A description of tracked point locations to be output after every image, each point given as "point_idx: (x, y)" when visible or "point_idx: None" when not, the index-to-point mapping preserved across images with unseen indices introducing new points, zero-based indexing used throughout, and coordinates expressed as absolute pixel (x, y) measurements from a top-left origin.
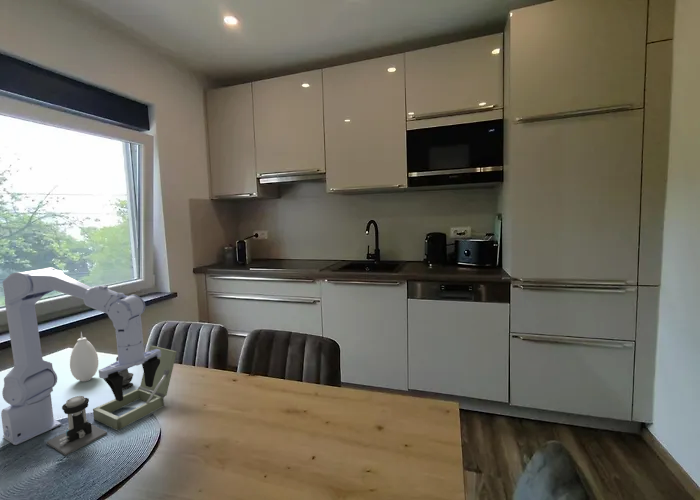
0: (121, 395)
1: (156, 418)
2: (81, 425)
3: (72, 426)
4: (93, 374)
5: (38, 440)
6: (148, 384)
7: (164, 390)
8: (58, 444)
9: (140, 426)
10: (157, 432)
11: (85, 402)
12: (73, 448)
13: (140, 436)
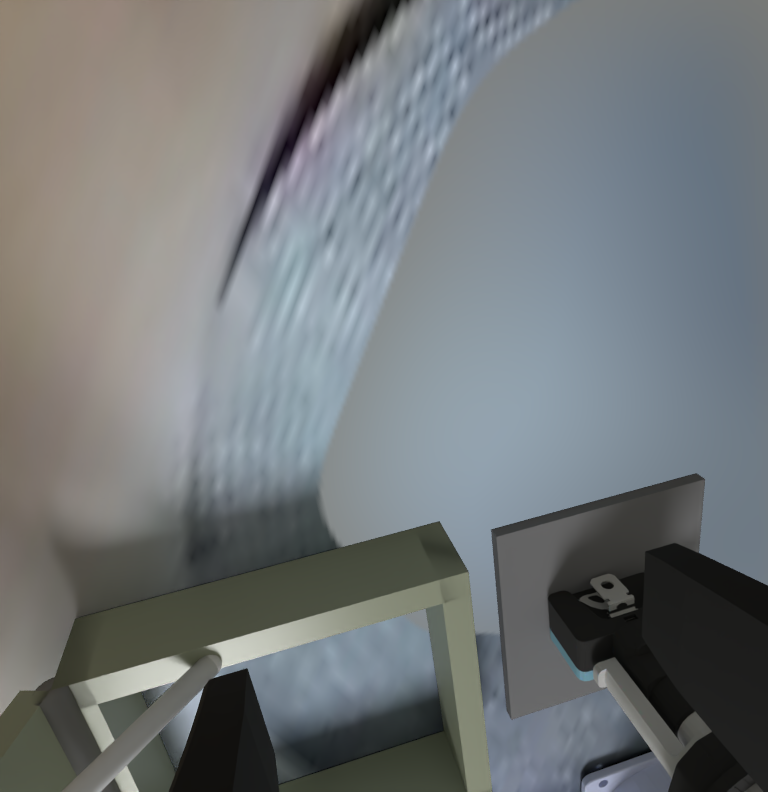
0: (733, 584)
1: (193, 474)
2: None
3: None
4: None
5: None
6: (259, 737)
7: (14, 745)
8: None
9: (322, 454)
10: (266, 252)
11: (742, 786)
12: (665, 499)
13: (376, 314)
